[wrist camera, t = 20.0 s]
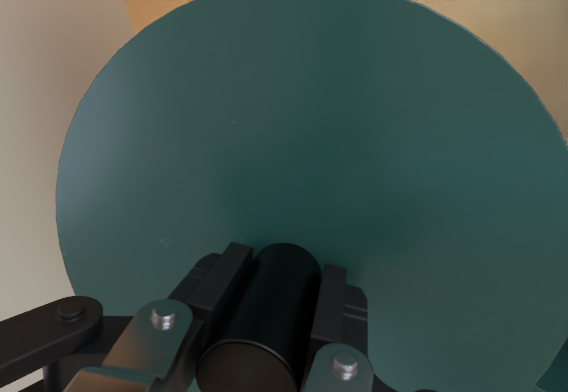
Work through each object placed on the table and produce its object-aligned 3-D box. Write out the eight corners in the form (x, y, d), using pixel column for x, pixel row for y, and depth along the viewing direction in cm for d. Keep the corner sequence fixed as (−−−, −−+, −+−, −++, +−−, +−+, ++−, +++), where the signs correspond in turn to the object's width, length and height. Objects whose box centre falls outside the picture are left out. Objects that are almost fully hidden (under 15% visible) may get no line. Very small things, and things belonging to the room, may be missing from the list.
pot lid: (84, 376, 18) (-37, 511, 13) (63, -49, 12) (-193, -144, 6) (466, 491, 16) (521, 718, 10) (687, 34, 10) (1124, -8, 4)
